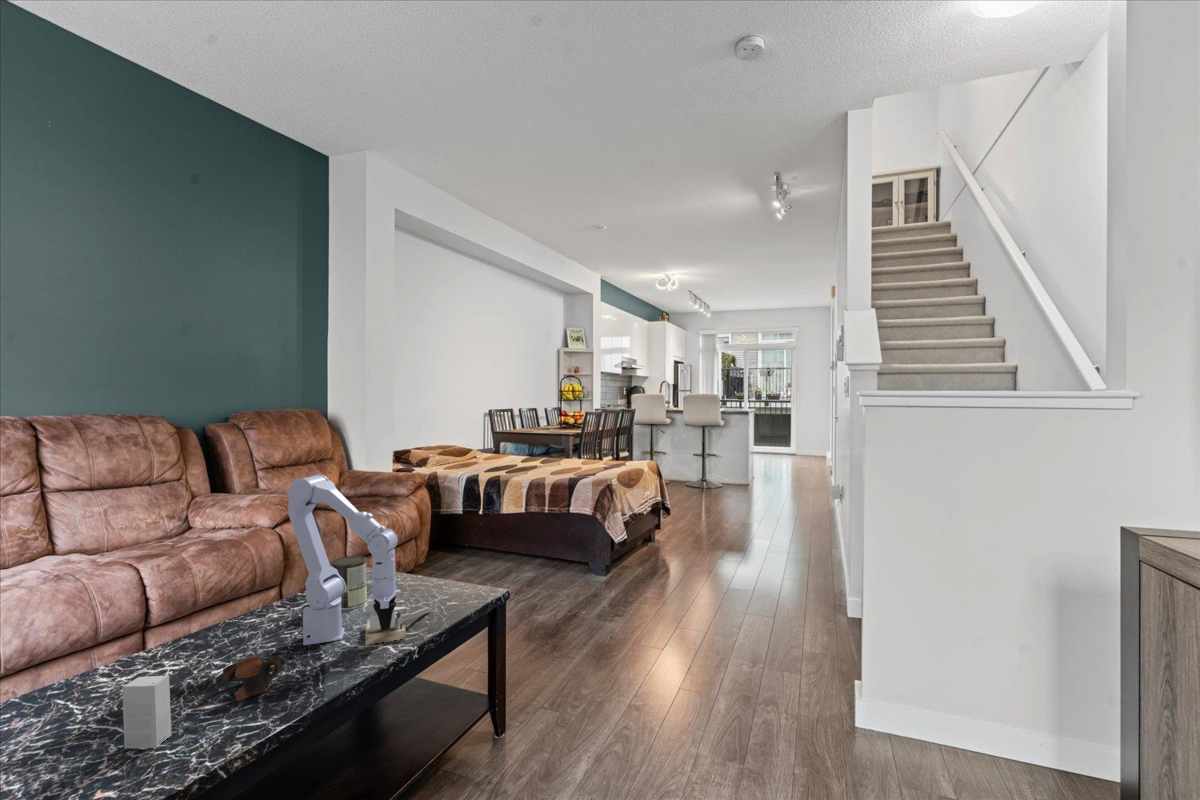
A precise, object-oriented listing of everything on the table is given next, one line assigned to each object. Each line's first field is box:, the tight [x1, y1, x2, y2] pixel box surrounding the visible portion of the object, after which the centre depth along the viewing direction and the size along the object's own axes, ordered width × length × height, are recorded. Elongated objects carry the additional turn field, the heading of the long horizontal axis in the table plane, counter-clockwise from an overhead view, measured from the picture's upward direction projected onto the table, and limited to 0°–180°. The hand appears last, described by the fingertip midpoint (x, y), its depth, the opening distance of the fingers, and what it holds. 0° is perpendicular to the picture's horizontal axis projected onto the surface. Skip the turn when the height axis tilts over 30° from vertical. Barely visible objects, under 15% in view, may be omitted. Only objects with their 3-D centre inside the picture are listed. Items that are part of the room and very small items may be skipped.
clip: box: [369, 612, 396, 634], centre depth 156 cm, size 6×2×6 cm, turn 109°
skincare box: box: [121, 675, 172, 749], centre depth 110 cm, size 6×4×12 cm
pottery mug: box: [219, 655, 283, 702], centre depth 130 cm, size 12×10×8 cm
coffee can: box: [330, 555, 368, 611], centre depth 182 cm, size 10×10×14 cm
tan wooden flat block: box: [364, 613, 407, 646], centre depth 159 cm, size 10×12×2 cm
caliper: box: [395, 606, 433, 630], centre depth 165 cm, size 20×1×6 cm, turn 171°
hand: (385, 626), depth 156 cm, fingers open, 3 cm apart
